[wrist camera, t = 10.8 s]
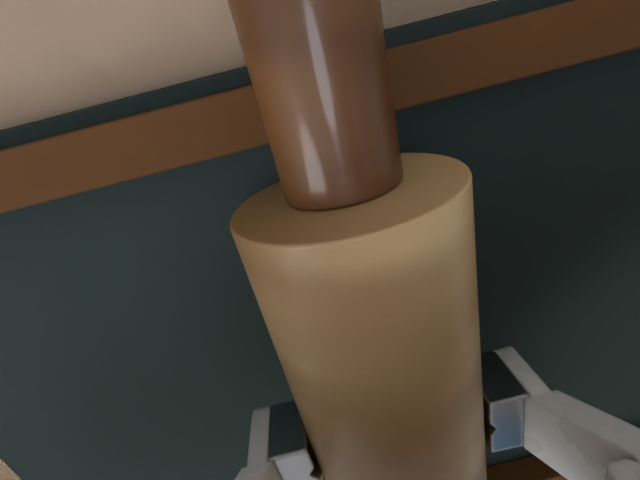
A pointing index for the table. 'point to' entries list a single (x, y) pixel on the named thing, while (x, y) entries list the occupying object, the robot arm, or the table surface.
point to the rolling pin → (360, 252)
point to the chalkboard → (260, 172)
